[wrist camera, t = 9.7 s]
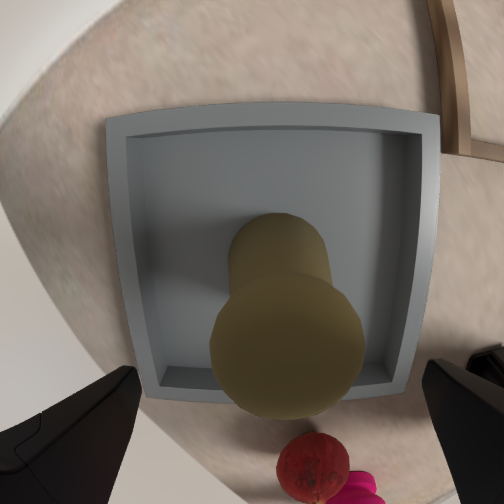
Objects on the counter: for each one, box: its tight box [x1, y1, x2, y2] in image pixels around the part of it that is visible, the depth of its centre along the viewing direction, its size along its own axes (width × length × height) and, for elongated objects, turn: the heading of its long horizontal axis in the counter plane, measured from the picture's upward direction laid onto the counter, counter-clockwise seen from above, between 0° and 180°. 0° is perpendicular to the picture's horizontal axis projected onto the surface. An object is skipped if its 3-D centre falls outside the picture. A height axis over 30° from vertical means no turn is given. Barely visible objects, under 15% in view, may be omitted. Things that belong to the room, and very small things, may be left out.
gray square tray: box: [106, 102, 440, 404], centre depth 19 cm, size 18×18×3 cm
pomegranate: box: [276, 432, 350, 504], centre depth 21 cm, size 6×6×8 cm
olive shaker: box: [209, 213, 365, 420], centre depth 14 cm, size 6×6×11 cm
